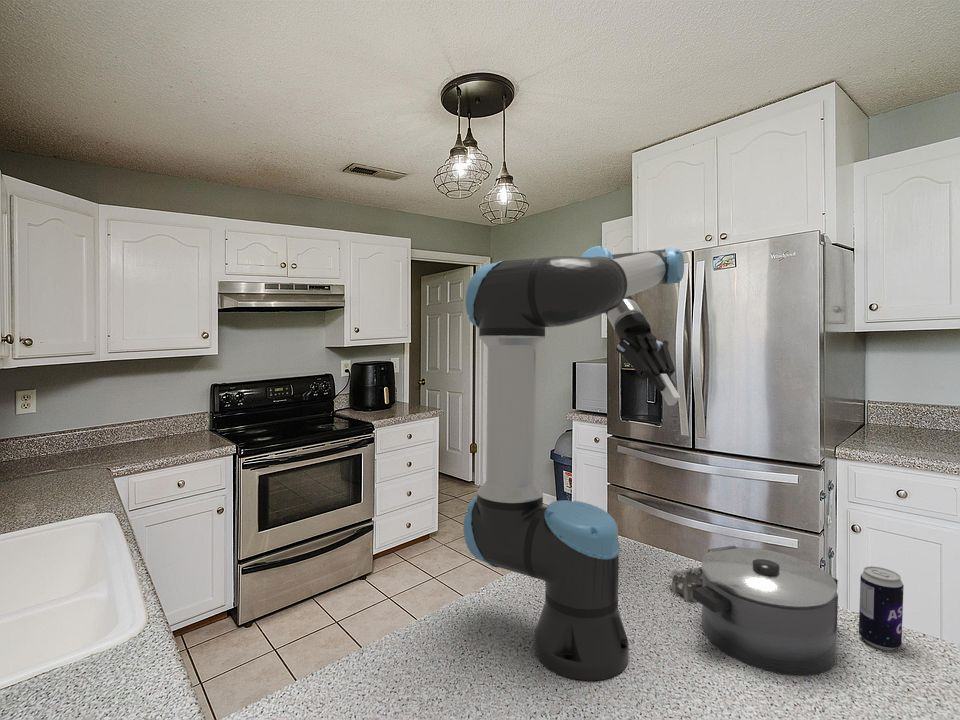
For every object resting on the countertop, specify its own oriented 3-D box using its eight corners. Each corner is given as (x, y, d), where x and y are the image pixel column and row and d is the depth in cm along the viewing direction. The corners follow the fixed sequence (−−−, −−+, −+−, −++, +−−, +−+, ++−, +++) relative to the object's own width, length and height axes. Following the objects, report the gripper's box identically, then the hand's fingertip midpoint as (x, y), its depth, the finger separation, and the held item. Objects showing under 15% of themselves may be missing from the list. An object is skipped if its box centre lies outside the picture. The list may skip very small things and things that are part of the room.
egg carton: (689, 605, 99) (690, 584, 99) (664, 587, 106) (665, 568, 106) (734, 597, 102) (734, 576, 102) (707, 580, 110) (707, 561, 109)
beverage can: (890, 657, 83) (893, 583, 82) (851, 638, 88) (853, 569, 87) (908, 647, 85) (910, 576, 85) (869, 629, 90) (871, 562, 90)
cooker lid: (768, 617, 75) (768, 601, 75) (676, 560, 95) (676, 547, 95) (867, 597, 81) (868, 582, 81) (762, 547, 101) (762, 535, 101)
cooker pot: (751, 691, 75) (752, 623, 74) (663, 619, 94) (664, 565, 93) (880, 657, 83) (882, 596, 82) (775, 597, 102) (776, 547, 101)
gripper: (645, 334, 127) (691, 411, 112) (598, 334, 123) (639, 413, 108) (659, 311, 121) (709, 389, 106) (611, 310, 118) (655, 391, 102)
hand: (674, 401), depth 107 cm, fingers closed
